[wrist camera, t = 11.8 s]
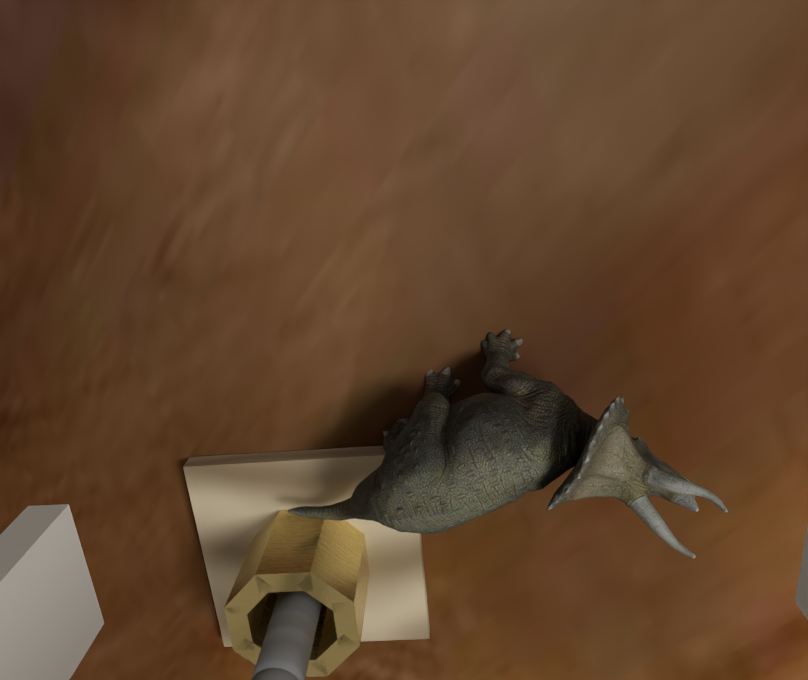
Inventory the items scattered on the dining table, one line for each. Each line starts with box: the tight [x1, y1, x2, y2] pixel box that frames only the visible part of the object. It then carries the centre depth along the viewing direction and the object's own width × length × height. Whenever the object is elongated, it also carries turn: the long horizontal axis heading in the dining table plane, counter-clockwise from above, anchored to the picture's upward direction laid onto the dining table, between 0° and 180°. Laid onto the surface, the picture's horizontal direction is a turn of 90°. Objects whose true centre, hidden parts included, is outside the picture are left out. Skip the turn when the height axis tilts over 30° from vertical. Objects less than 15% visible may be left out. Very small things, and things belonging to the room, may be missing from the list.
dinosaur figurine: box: [288, 329, 728, 558], centre depth 34 cm, size 22×8×11 cm, turn 102°
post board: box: [183, 446, 430, 680], centre depth 37 cm, size 14×14×12 cm
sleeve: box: [224, 509, 370, 677], centre depth 39 cm, size 7×7×6 cm
